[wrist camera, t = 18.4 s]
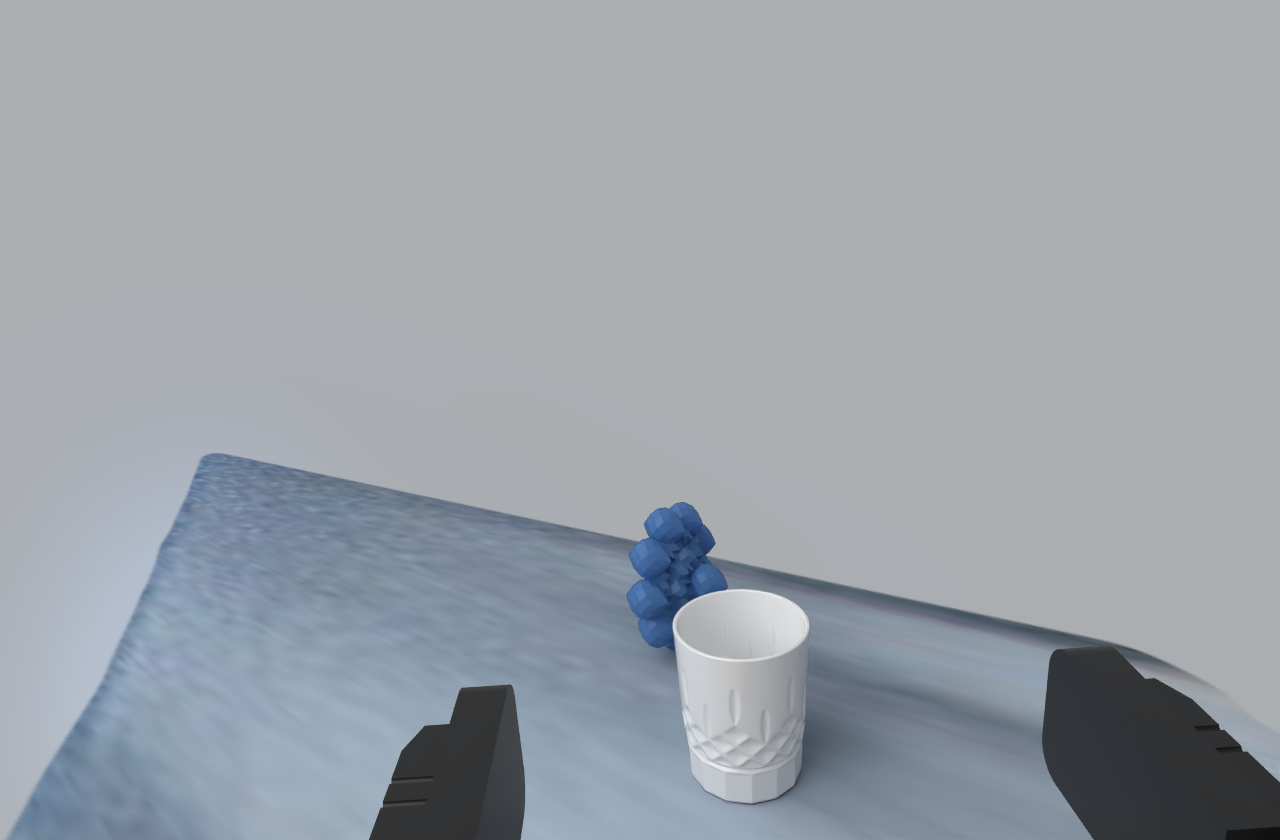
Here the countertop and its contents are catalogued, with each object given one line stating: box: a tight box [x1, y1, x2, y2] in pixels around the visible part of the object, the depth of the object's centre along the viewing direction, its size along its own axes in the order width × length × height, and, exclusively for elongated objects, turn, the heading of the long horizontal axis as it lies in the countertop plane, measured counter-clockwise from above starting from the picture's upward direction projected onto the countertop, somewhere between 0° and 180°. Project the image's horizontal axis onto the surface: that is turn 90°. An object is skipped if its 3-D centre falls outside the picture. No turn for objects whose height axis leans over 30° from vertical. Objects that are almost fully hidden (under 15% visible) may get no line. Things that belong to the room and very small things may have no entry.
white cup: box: [673, 589, 810, 804], centre depth 50 cm, size 8×8×10 cm
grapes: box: [626, 502, 728, 650], centre depth 63 cm, size 12×7×12 cm, turn 152°
